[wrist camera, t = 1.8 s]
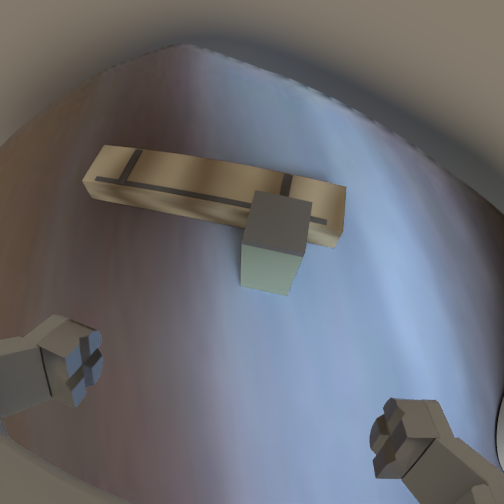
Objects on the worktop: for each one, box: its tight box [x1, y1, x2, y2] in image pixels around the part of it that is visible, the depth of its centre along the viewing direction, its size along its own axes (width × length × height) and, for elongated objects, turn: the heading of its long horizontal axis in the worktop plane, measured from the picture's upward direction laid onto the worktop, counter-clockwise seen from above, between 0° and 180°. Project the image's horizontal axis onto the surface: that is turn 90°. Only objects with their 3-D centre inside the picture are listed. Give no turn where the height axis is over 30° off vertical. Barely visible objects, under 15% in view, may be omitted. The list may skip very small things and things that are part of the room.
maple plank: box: [82, 145, 346, 248], centre depth 30 cm, size 25×5×3 cm, turn 77°
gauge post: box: [240, 190, 313, 296], centre depth 25 cm, size 4×4×8 cm
